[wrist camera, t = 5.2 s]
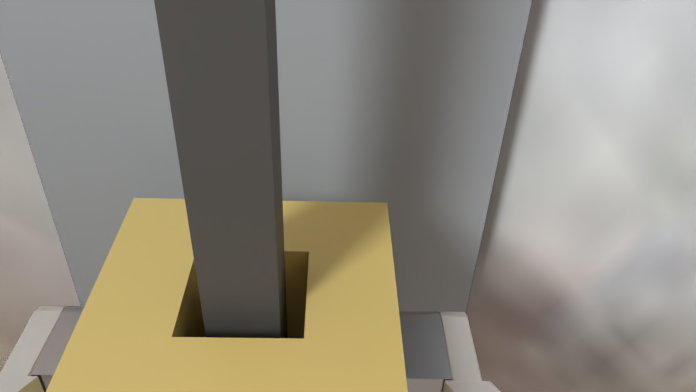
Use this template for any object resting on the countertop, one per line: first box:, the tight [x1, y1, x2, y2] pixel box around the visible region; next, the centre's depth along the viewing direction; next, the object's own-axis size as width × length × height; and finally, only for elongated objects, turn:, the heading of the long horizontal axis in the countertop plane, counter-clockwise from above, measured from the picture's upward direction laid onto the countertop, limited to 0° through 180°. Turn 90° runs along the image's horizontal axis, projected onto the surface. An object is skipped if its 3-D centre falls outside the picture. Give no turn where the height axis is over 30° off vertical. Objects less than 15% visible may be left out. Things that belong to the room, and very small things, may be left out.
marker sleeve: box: [46, 198, 408, 392], centre depth 11 cm, size 5×4×5 cm
